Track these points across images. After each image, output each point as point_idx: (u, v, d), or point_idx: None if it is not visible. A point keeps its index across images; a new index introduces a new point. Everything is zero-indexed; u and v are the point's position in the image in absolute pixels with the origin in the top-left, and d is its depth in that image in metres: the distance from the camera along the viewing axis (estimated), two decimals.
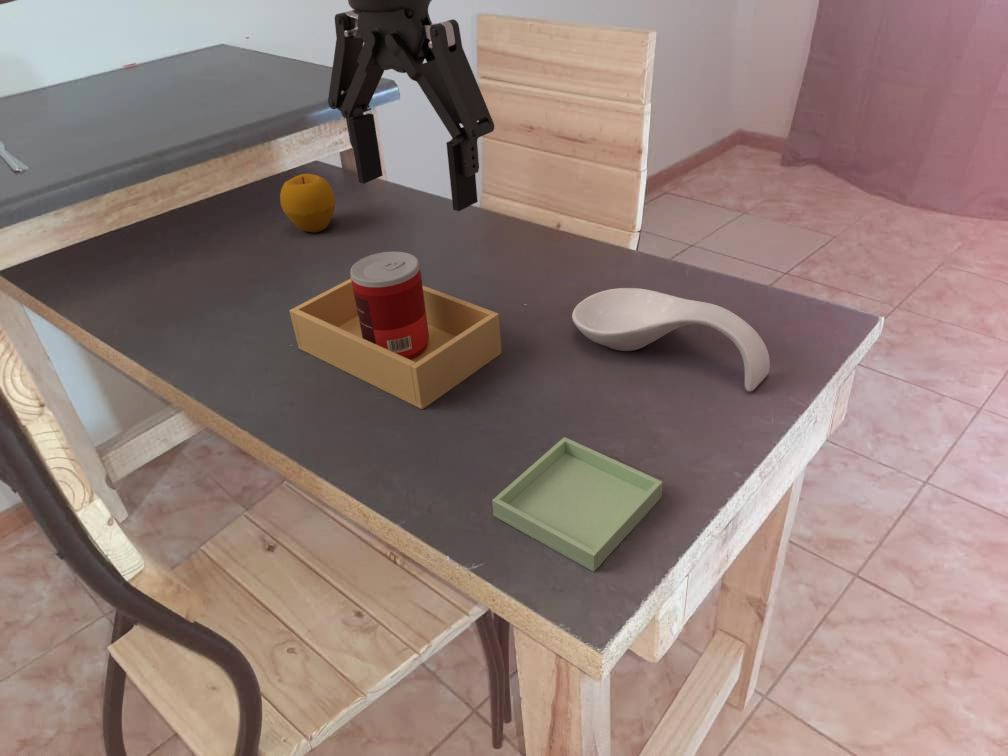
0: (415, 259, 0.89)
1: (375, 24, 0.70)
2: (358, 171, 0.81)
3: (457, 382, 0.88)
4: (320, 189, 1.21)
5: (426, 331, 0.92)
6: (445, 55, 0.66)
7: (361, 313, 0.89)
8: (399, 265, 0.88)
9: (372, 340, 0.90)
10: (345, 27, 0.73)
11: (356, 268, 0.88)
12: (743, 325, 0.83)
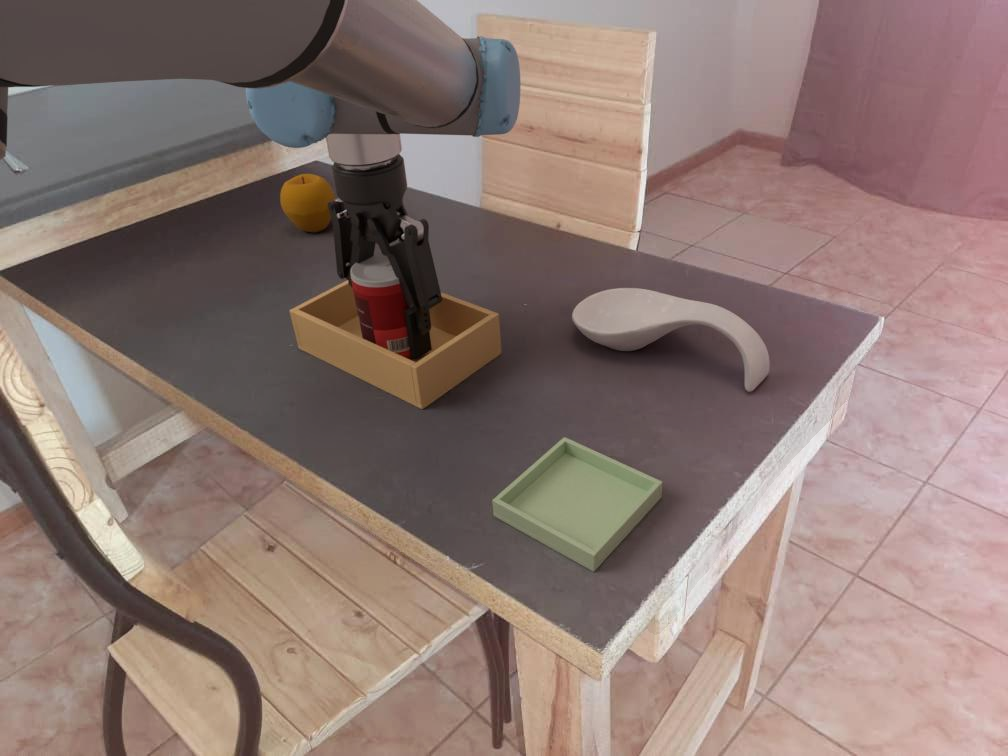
0: None
1: (359, 207, 0.84)
2: None
3: (457, 382, 0.88)
4: (320, 189, 1.21)
5: None
6: (413, 250, 0.81)
7: (361, 313, 0.89)
8: None
9: (372, 340, 0.90)
10: (337, 211, 0.87)
11: (356, 268, 0.88)
12: (743, 325, 0.83)
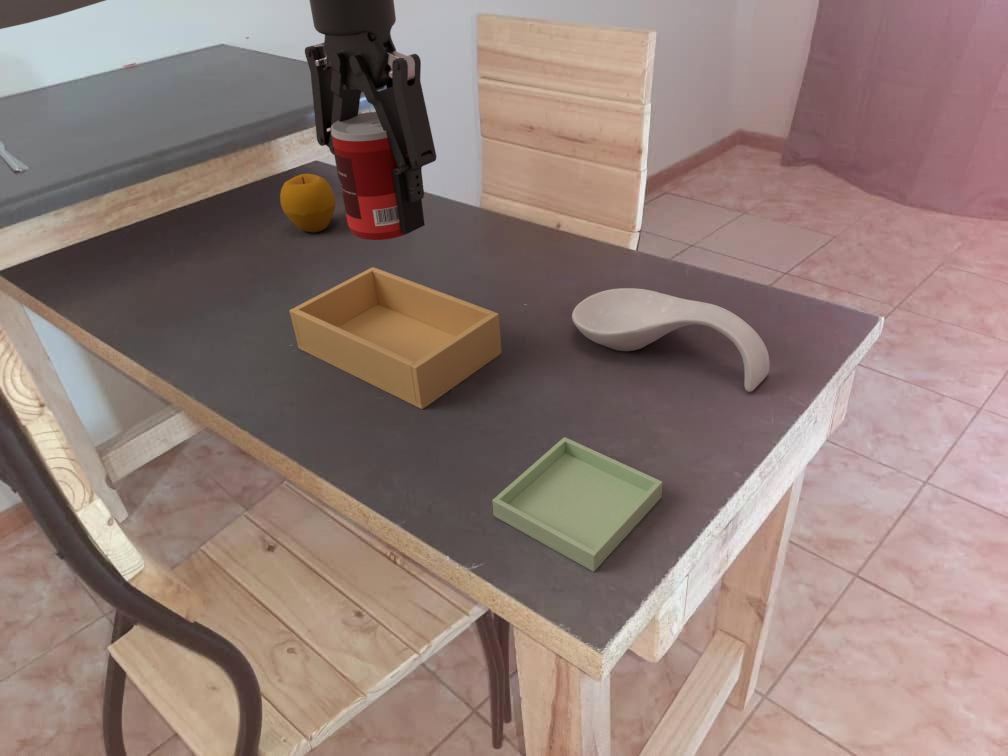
0: None
1: (340, 46, 0.73)
2: None
3: (457, 382, 0.88)
4: (320, 189, 1.21)
5: None
6: (402, 89, 0.70)
7: (343, 178, 0.77)
8: None
9: (356, 210, 0.78)
10: (315, 58, 0.76)
11: (338, 125, 0.77)
12: (743, 325, 0.83)
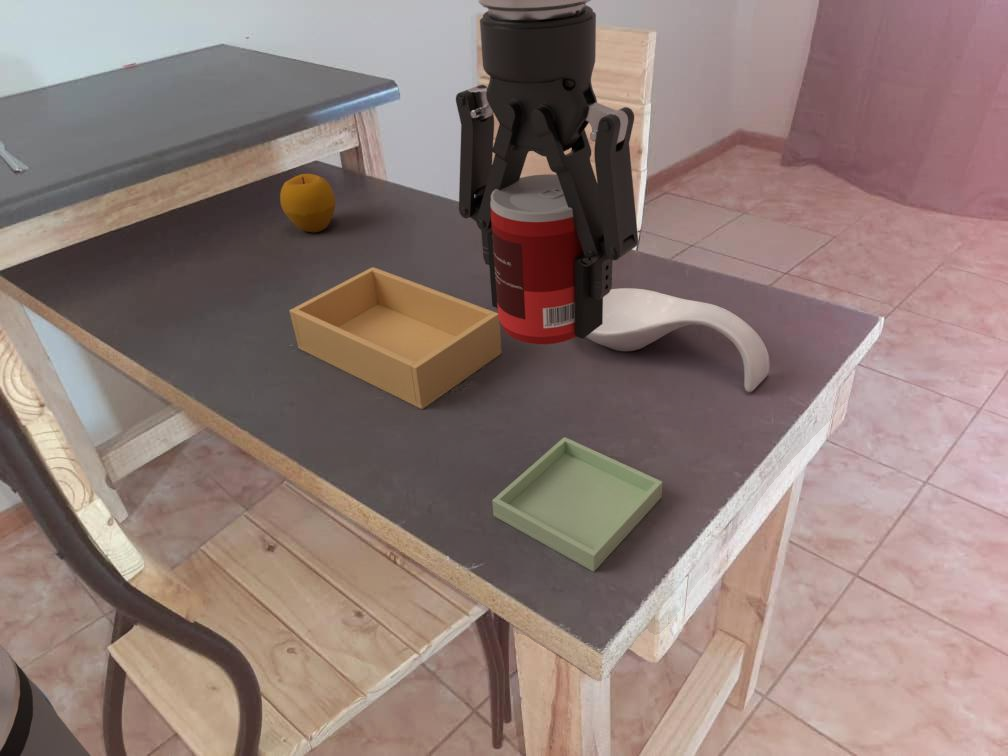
0: None
1: (515, 94, 0.53)
2: (493, 293, 0.64)
3: (457, 382, 0.88)
4: (320, 189, 1.21)
5: None
6: (610, 157, 0.50)
7: (505, 266, 0.58)
8: None
9: (519, 308, 0.59)
10: (471, 107, 0.56)
11: (498, 196, 0.57)
12: (743, 325, 0.83)
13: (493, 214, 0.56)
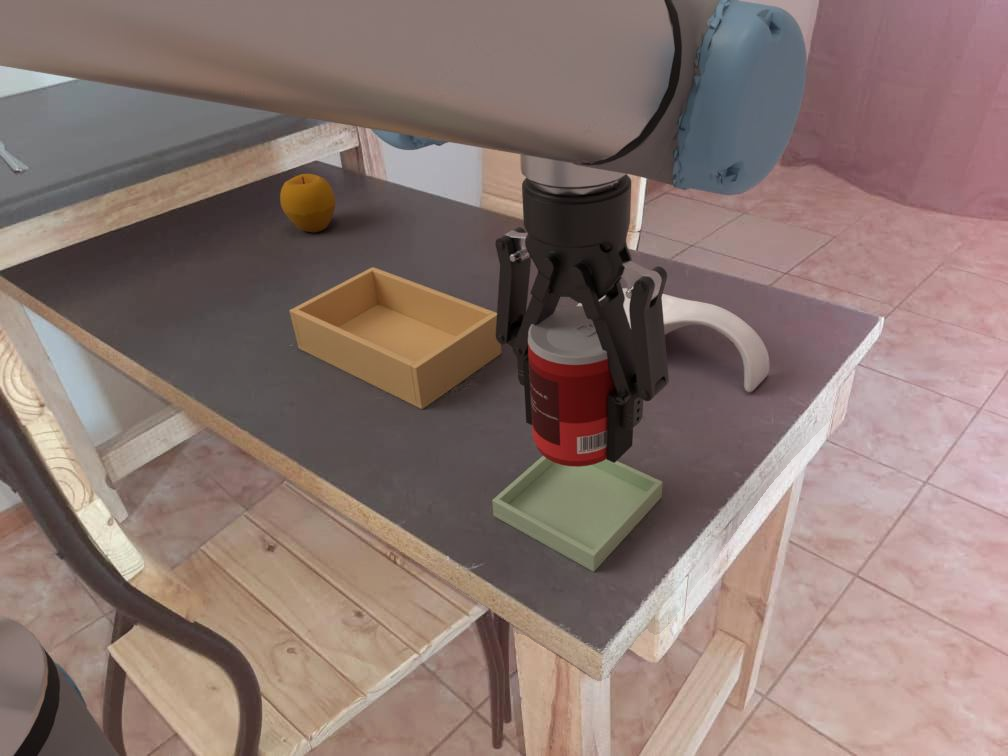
0: None
1: (553, 247, 0.56)
2: (527, 412, 0.67)
3: (457, 382, 0.88)
4: (320, 189, 1.21)
5: None
6: (644, 314, 0.54)
7: (541, 399, 0.61)
8: None
9: (554, 435, 0.62)
10: (510, 251, 0.59)
11: (536, 333, 0.60)
12: (743, 325, 0.83)
13: (531, 352, 0.60)
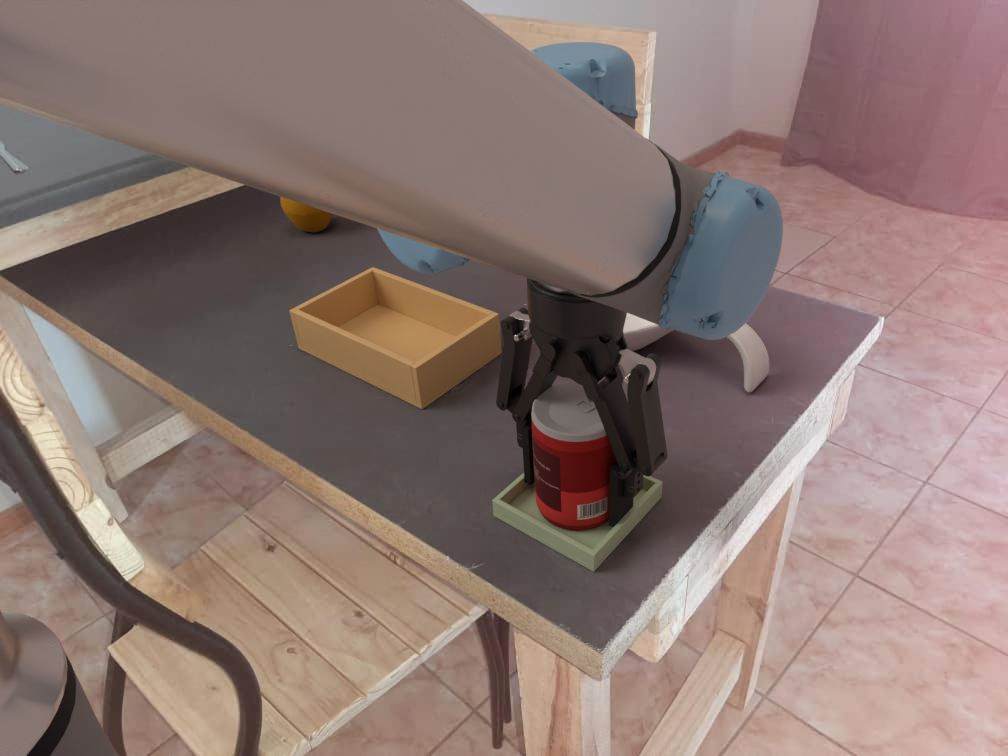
0: None
1: None
2: (525, 472, 0.71)
3: (457, 382, 0.88)
4: None
5: None
6: (641, 398, 0.58)
7: (544, 470, 0.65)
8: None
9: (556, 503, 0.66)
10: (514, 331, 0.63)
11: (539, 409, 0.65)
12: (743, 325, 0.83)
13: (534, 427, 0.64)
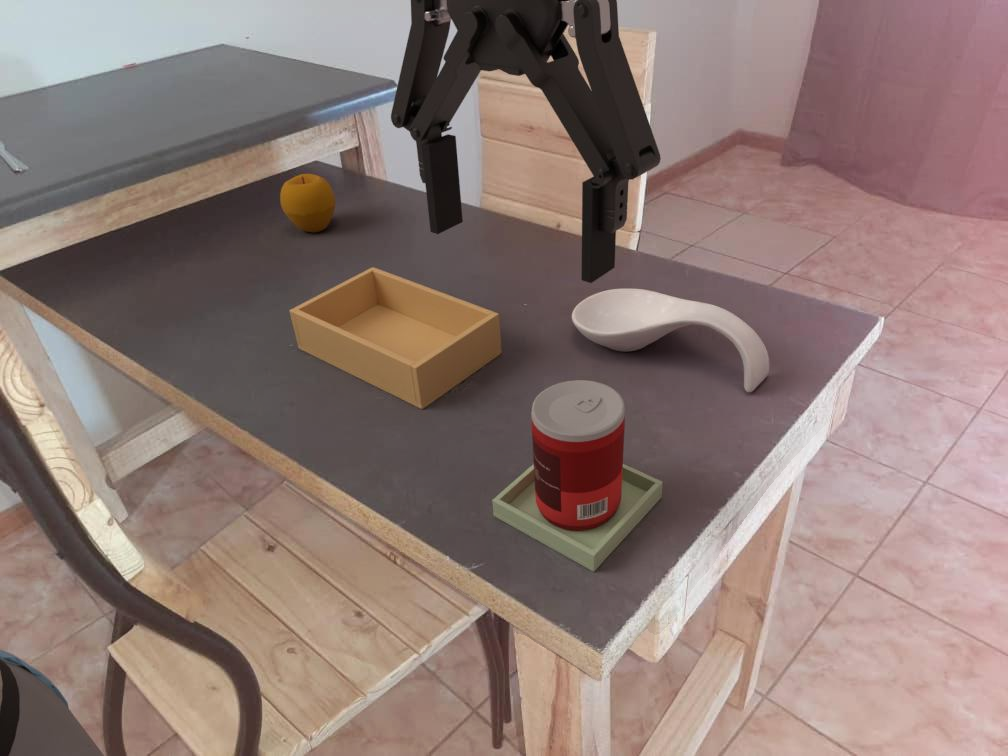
0: (617, 395, 0.65)
1: (478, 0, 0.45)
2: (430, 216, 0.57)
3: (457, 382, 0.88)
4: (320, 189, 1.21)
5: (621, 485, 0.69)
6: (596, 48, 0.42)
7: (544, 470, 0.65)
8: (597, 405, 0.65)
9: (556, 503, 0.66)
10: (426, 7, 0.48)
11: (539, 409, 0.65)
12: (743, 325, 0.83)
13: (534, 427, 0.64)
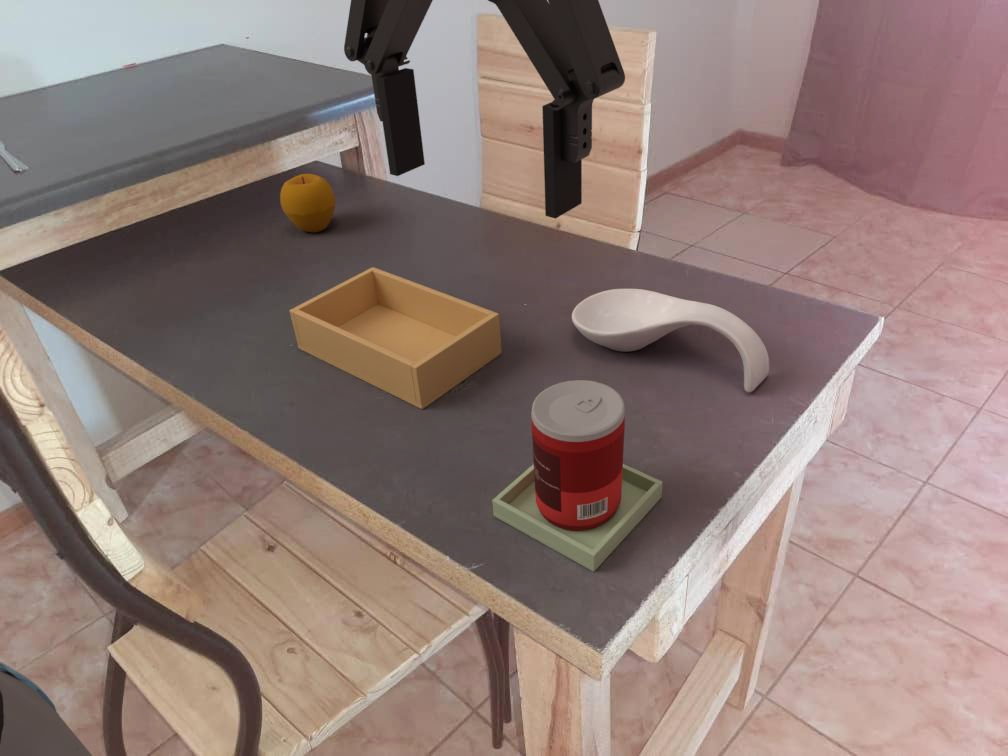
0: (617, 395, 0.65)
1: None
2: (389, 157, 0.53)
3: (457, 382, 0.88)
4: (320, 189, 1.21)
5: (621, 485, 0.69)
6: None
7: (544, 470, 0.65)
8: (597, 404, 0.65)
9: (556, 503, 0.66)
10: None
11: (539, 409, 0.65)
12: (743, 326, 0.83)
13: (534, 427, 0.64)
